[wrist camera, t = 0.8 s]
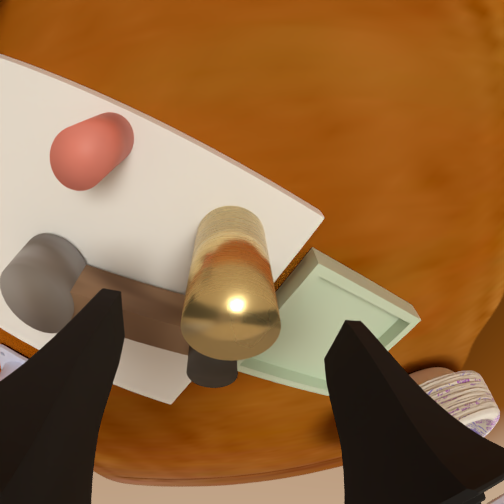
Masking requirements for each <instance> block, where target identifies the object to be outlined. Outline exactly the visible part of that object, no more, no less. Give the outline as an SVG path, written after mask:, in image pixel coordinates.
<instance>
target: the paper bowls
mask: <svg viewBox="0 0 504 504" xmlns="http://www.w3.org/2000/svg"><path fill="white" fill-rule="evenodd" d="M409 376H410V377H411V378H412V379H413V380H414V381H415V382H416V383H417V384H418V385H419V386H420V387H421V388H422V389H423V390H424V391H425V392H426V393H427V394H428V395H429V396H430V397H431V398H432V399H433V400H434V401H436V402H437V403H438V404H439V405H440V406H441V407H442V408H443V409H445V410H446V411H447V412H448V413H449V414H451V415H452V416H453V417H455V418H456V419H457V420H459V421H460V422H461V423H463V424H464V425H465V426H467V427H468V428H470V429H471V430H473V431H474V432H476V433H477V434H479V435H481V436H482V437H485V436H486V435H487V434H488V433H489V432H490V431H491V430H492V429H493V428H494V426H495V425H496V423H497V422H498V420H499V417H500V411H499V409H498V406H497V404H496V403H495V401H494V399H493V397H492V396H491V393H490V391H489V390H488V387H487V385H486V384H485V382H484V380H483V378H482V377H481V375H479V374H478V373H476V372H475V371H459V372H453V371H451V370H449V369H447V368H442V367H432V368H427V369H423V370H420V371H417V372H414V373H411V374H409Z"/></svg>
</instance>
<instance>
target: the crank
mask: <svg viewBox="0 0 504 504" xmlns="http://www.w3.org/2000/svg"><path fill="white" fill-rule="evenodd" d="M102 288H105V289H111V290H116V291H121V297H122V310H123V321H124V331H125V338H126V339H129V340H133V341H136V342H140V343H143V344H146V345H150V346H154V347H157V348H161V349H165V350H168V351H172V352H176V353H180V354H184V355H188V361H187V371H186V373H187V376H188V378H189V379H190V380H191V381H192V382H194V383H196V384H198V385H200V386H204V387H210V388H218V387H224V386H227V385H229V384H231V383H233V382H234V381H235V380H236V378H237V375H238V372H237V361H238V360H233V361H229V360H219V359H214V358H211V357H208V356H205V355H203V354H201V353H199V352H197V351H196V350H194V349H193V348H192V347H191V346H190V345H189V344H188V343H187V342H186V340H185V339H184V337H183V335H182V332H181V318H182V312H183V306H184V300H185V295H182V294H178V293H175V292H172V291H168V290H165V289H161V288H158V287H155V286H151V285H148V284H145V283H142V282H138V281H135V280H132V279H129V278H126V277H123V276H119V275H116V274H113V273H110V272H107V271H104V270H101V269H98V268H95V267H92V266H89V265H86V263H85V261H84V259H83V257H82V256H81V254H80V253H79V252H78V250H77V249H76V248H75V247H74V246H73V245H72V244H70V243H69V242H68V241H66V240H65V239H63V238H61V237H59V236H57V235H53V234H48V233H43V234H38V235H36V236H34V237H32V238H31V239H30V240H29V241H28V242H27V244H26V245H25V246H24V247H23V248H22V249H21V250H20V251H19V253H18V254H17V255H16V256H15V257H14V258H13V260H12V261H11V262H10V263H9V264H8V265H7V267H6V268H5V269H4V270H3V272H2V274H1V276H0V289H1V293H2V296H3V298H4V300H5V302H6V304H7V305H8V307H9V308H10V309H11V311H12V312H13V313H14V314H15V315H16V316H17V317H18V318H19V319H20V320H21V321H22V322H24V323H25V324H27V325H28V326H30V327H32V328H33V329H36V330H38V331H41V332H44V333H58V332H59V331H60V330H61V329H62V328H63V327H64V326H65V325H66V324H67V323H68V322H69V321H70V320H71V319H72V318H74V316H75V315H76V314H77V313H78V312H79V311H80V310H81V309H82V308H83V307H84V306H85V305H86V304H87V303H88V302H89V301H90V300H91V299H92V298H93V297H94V296H95V295H96V294H97V293H98V292H99V291H100V290H101V289H102Z"/></svg>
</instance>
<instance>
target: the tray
mask: <svg viewBox="0 0 504 504" xmlns="http://www.w3.org/2000/svg"><path fill="white" fill-rule="evenodd" d="M275 293H276V298H277V304H278V310H279V315H280V321H281V330H280V334H279V336H278V338H277V340H276V342H275V343H274V344H273V345H272V346H271V347H270V348H269V349H267V350H266V351H265V352H263V353H261V354H259V355H257V356H254V357H251V358H248V359H243V360H238V361H237V371H240V372H243V373H246V374H249V375H252V376H256V377H259V378H262V379H266V380H269V381H273V382H276V383H280V384H284V385H287V386H291V387H295V388H299V389H302V390H306V391H310V392H314V393H319V394H323V395H327V396H329V393H328V388H327V383H326V375H325V364H324V358H325V356H326V354H327V353H328V351H329V349H330V347H331V345H332V344H333V342H334V340H335V338H336V336H337V335H338V333H339V331H340V329H341V327H342V325H343V323H344V322H345V320H354V321H361V322H362V323H363V324H364V325H365V326H366V327H367V328H368V329H369V330H370V331H371V332H372V333H373V334H374V336H375V337H376V338H377V339H378V340H379V341H380V343H381V344H382V345H383V346H384V347H385V348H386V350H387V351H389V350H390V349H391V348H392V347H393V346H394V345H395V344H396V343H397V342H398V341H400V340H401V339H402V338H403V337H404V336H405V335H406V334H407V333H408V332H409V331H410V330H411V329H412V328H413V327H414V326H415V325H416V324H417V323H418V322H420V321H421V319H420V317H419V316H418V314H417V312H416V311H415V309H414V307H413V306H412V305H411V304H409V303H408V302H406V301H404V300H403V299H401V298H399V297H398V296H396V295H394V294H393V293H391V292H389V291H388V290H386V289H384V288H382V287H381V286H379V285H377V284H376V283H374V282H372V281H370V280H369V279H367V278H365V277H364V276H362V275H360V274H358V273H357V272H355V271H353V270H351V269H350V268H348V267H346V266H344V265H343V264H341V263H339V262H337V261H336V260H334V259H332V258H330V257H329V256H327V255H325V254H323V253H322V252H320V251H318V250H316V249H314V248H313V247H312V248H311V249H310V251H309V252H308V253H307V254H306V256H305V257H304V258H303V259H302V261H301V262H300V263H299V264H298V265H297V267H296V268H295V269H294V270H293V272H292V273H291V274H290V275H289V277H288V278H287V279H286V280H285V281H284V283H283V284H282V285H281V286H280V287H279V289H278V290H277V291H276V292H275Z"/></svg>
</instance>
